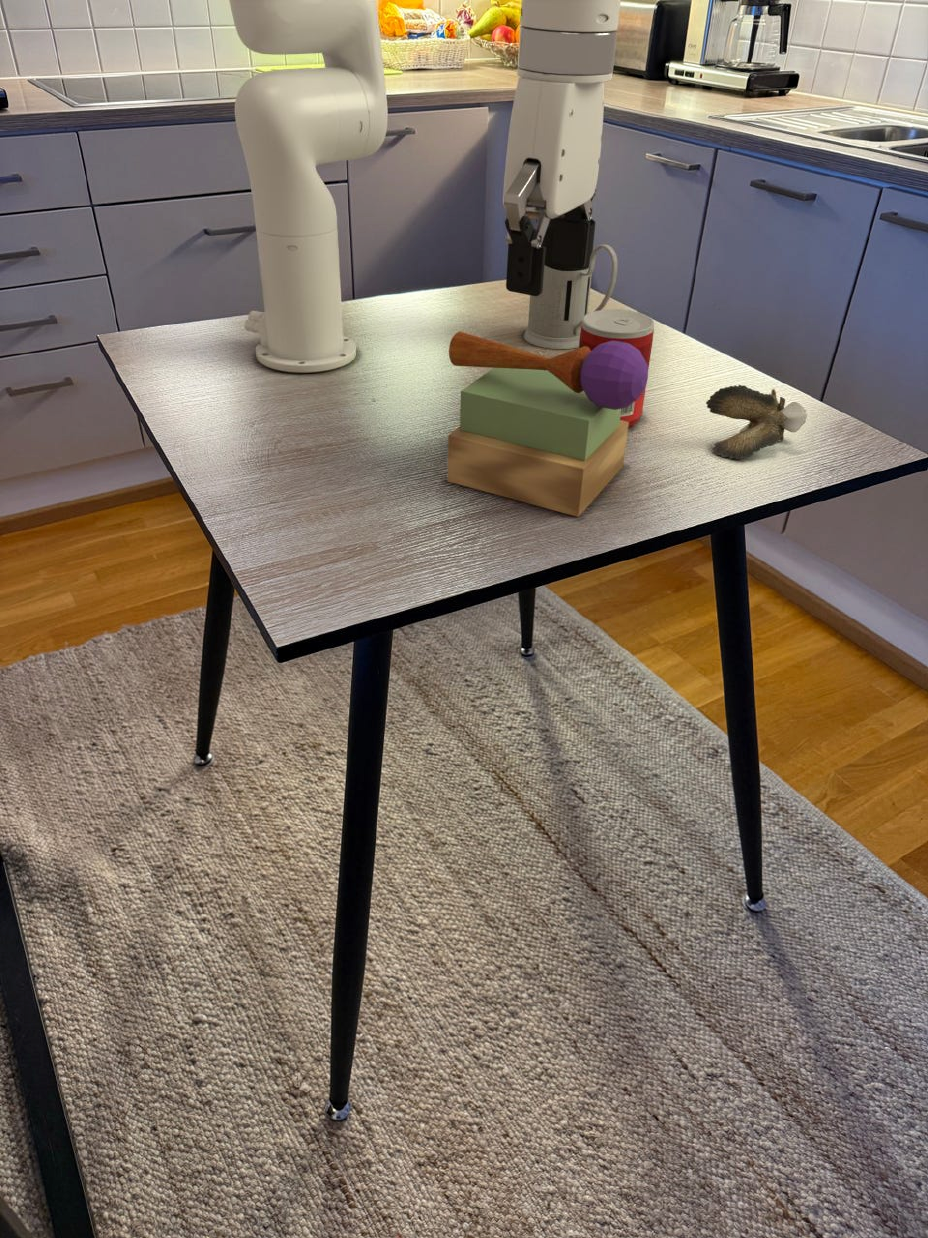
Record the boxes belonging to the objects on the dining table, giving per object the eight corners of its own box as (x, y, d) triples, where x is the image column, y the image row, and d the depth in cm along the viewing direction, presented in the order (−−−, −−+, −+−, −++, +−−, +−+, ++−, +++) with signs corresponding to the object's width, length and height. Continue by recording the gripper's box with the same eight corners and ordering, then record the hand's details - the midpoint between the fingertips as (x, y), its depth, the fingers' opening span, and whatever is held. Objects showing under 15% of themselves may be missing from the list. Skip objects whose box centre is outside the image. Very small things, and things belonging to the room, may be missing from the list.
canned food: (651, 412, 108) (665, 316, 101) (624, 437, 102) (637, 337, 96) (590, 397, 111) (600, 304, 104) (560, 421, 105) (569, 323, 99)
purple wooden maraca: (477, 315, 94) (663, 343, 84) (473, 375, 96) (653, 409, 86) (442, 319, 89) (635, 348, 79) (439, 382, 92) (625, 419, 82)
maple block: (447, 481, 93) (447, 434, 90) (500, 436, 101) (502, 392, 98) (578, 517, 88) (583, 468, 85) (623, 467, 96) (629, 421, 93)
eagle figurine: (749, 411, 106) (690, 410, 101) (793, 371, 100) (733, 368, 95) (776, 468, 103) (717, 470, 99) (823, 431, 97) (762, 431, 93)
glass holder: (559, 323, 132) (569, 209, 124) (630, 353, 123) (645, 233, 114) (510, 334, 128) (517, 217, 119) (579, 366, 119) (592, 242, 110)
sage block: (459, 430, 91) (460, 390, 88) (500, 398, 97) (502, 361, 95) (584, 461, 86) (589, 420, 84) (619, 426, 92) (624, 387, 90)
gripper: (565, 43, 81) (547, 249, 91) (472, 60, 69) (464, 296, 79) (648, 51, 78) (620, 262, 89) (567, 70, 66) (545, 313, 76)
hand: (547, 278), depth 84 cm, fingers open, 9 cm apart
